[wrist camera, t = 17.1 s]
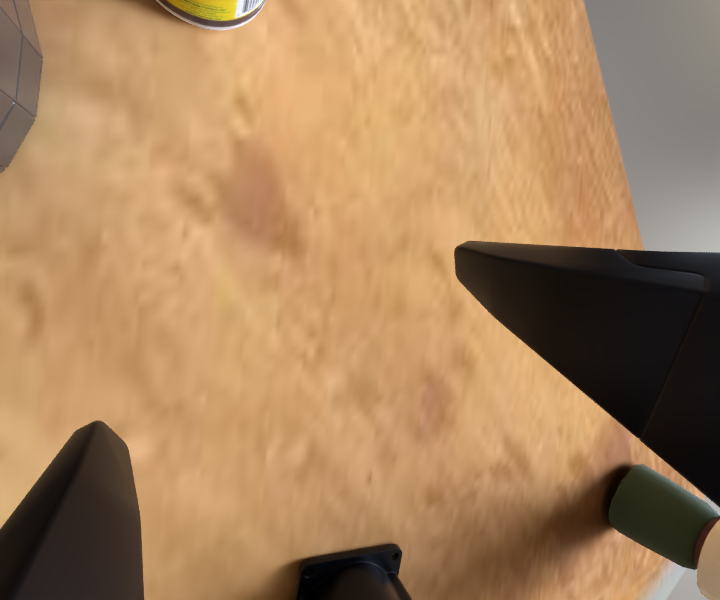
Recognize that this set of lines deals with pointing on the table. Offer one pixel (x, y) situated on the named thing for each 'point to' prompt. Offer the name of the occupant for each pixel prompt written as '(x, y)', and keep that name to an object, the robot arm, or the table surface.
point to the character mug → (670, 524)
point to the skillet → (17, 76)
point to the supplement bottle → (214, 12)
